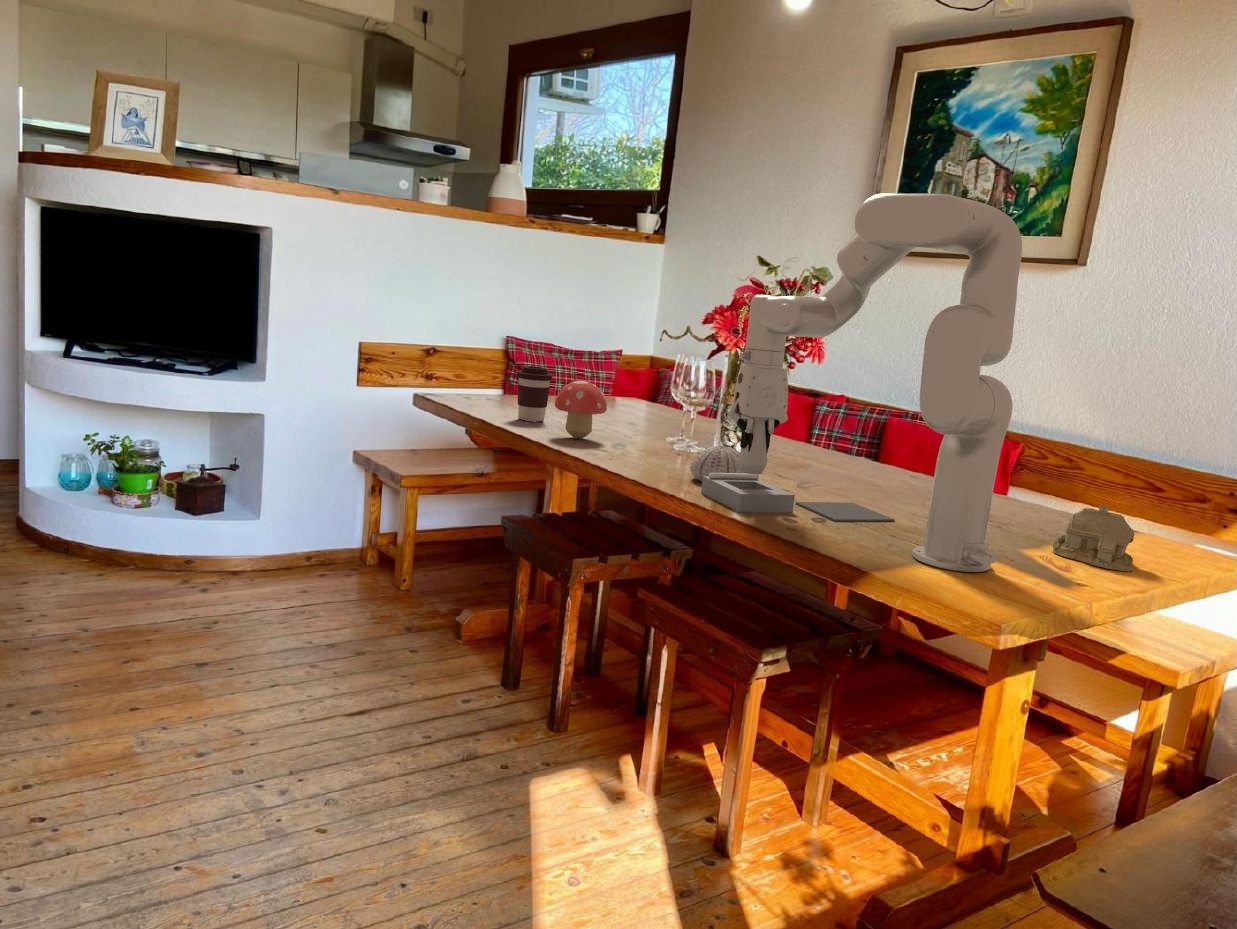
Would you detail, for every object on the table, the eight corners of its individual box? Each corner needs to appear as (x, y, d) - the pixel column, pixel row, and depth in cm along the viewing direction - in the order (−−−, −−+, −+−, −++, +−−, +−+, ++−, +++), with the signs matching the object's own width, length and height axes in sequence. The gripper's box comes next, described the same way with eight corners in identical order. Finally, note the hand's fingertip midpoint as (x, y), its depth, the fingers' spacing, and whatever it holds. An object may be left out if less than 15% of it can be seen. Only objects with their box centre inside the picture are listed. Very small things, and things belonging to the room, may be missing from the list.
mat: (894, 521, 197) (894, 519, 197) (834, 521, 191) (834, 519, 191) (852, 504, 209) (852, 502, 209) (795, 504, 204) (795, 502, 204)
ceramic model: (1141, 565, 181) (1152, 511, 180) (1128, 575, 173) (1139, 519, 171) (1060, 547, 190) (1069, 495, 188) (1043, 556, 181) (1053, 502, 179)
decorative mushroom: (541, 434, 259) (546, 377, 257) (580, 433, 268) (586, 377, 266) (574, 444, 250) (579, 384, 247) (614, 442, 259) (620, 384, 256)
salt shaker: (765, 476, 196) (772, 410, 194) (735, 473, 197) (742, 407, 195) (766, 471, 201) (773, 407, 199) (738, 468, 203) (745, 404, 200)
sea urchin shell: (736, 477, 228) (740, 442, 226) (759, 490, 215) (763, 454, 213) (680, 474, 224) (684, 439, 223) (700, 488, 211) (705, 450, 210)
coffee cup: (555, 422, 284) (560, 369, 282) (534, 424, 276) (539, 370, 273) (527, 416, 289) (531, 364, 287) (506, 418, 281) (510, 365, 278)
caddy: (792, 512, 196) (795, 488, 195) (738, 512, 191) (741, 488, 190) (752, 493, 210) (754, 471, 209) (701, 492, 206) (703, 470, 205)
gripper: (736, 358, 189) (726, 455, 192) (810, 363, 195) (799, 456, 198) (717, 355, 196) (708, 448, 199) (789, 359, 202) (779, 450, 205)
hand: (754, 451), depth 198 cm, fingers closed on salt shaker, 3 cm apart
